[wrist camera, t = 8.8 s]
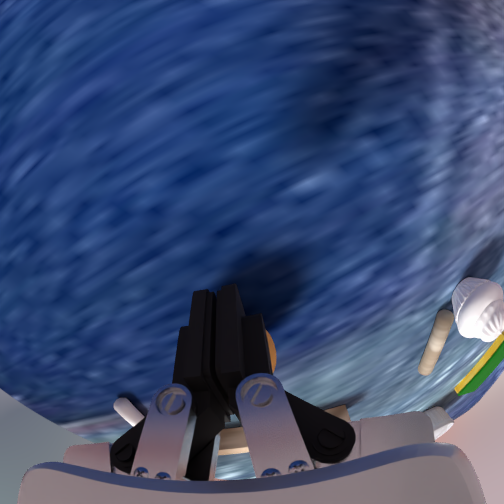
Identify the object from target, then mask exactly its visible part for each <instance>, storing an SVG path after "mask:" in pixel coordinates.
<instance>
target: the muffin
mask: <svg viewBox="0 0 504 504" xmlns="http://www.w3.org/2000/svg"><path fill="white" fill-rule="evenodd" d="M452 304H453V310H454V315H455V321H456V323H457V326H458V330H459V332H460V334H461V335H462V336H464V337H466V338H473V337H476V338H481V339H482V341H484V342H491V341H493V340H494V339H496V338H497V337H498V336H499V335H500V334H502V331H503V330H504V302H503V290H502V288H501V286H500V285H499V284H497V283H495V282H491V281H490V280H486V279H479V278H472V277H468V278H466V279H464V280H462V281H461V282H460V283H459V284H458V286H456V289H455V290H454V292H453V294H452Z"/></svg>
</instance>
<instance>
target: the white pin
mask: <svg viewBox="0 0 504 504" xmlns="http://www.w3.org/2000/svg"><path fill="white" fill-rule="evenodd" d="M114 409H115V410H116V411H117V412H118V413H119V414H120V415H121V416H122V417H123V418H124V419H125V420H126V421H128V422H129V423H130V424H131V425H132V426H135V425H136V424H137V423H138V422H140V421H141V420H142V419H143V418H144V416H143V415H142V414H141V413H140V412H139V411H138V410H137V409H136V408H135V407H134V406H133V405H132V403H131V402H130V401H129V400H128V399H127V398H118V399H117V400H116V401H115V403H114Z"/></svg>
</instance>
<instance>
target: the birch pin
mask: <svg viewBox="0 0 504 504" xmlns="http://www.w3.org/2000/svg"><path fill="white" fill-rule="evenodd" d="M453 320H454V315H453V313H452V312H451V311H449V310H446V309H443V310H441V311H439V312H438V313H437V316H436V319H435V323H434V326H433V329H432V332H431V335H430V337H429V340H428V343H427V346H426V348H425V351H424V354H423V356H422V359H421V361H420V364H419V366H418V371H419V373H420V374H422V375H429V374H430V373H431V372H432V370H433V368H434V366H435V364H436V362H437V360H438V357H439V355H440V353H441V351H442V348H443V346H444V344H445V341H446V339H447V336H448V334H449V331H450V328H451V326H452V323H453Z"/></svg>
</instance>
